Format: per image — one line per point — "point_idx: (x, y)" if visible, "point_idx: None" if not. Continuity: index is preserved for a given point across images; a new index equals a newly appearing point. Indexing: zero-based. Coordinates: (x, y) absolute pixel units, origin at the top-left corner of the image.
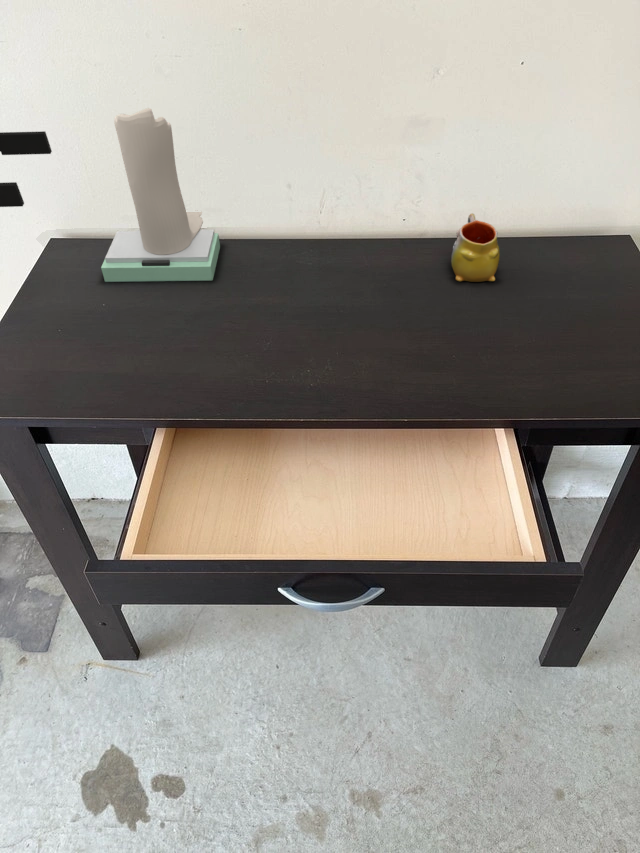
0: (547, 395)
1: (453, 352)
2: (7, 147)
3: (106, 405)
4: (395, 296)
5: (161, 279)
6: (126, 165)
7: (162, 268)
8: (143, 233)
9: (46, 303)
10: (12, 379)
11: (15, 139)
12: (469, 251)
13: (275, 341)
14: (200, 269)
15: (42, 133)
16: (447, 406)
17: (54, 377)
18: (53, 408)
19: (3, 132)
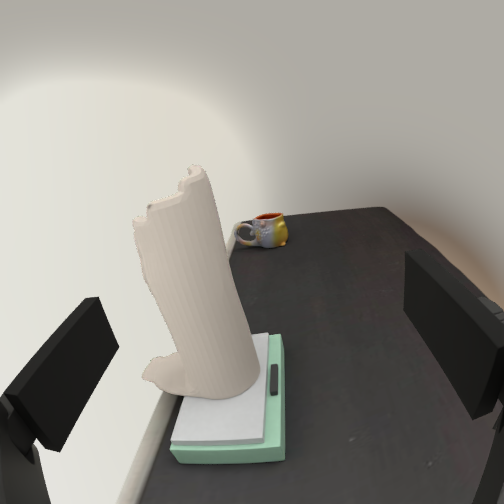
0: (381, 216)
1: (360, 235)
2: (57, 411)
3: None
4: (304, 258)
5: (284, 391)
6: (204, 267)
7: (281, 375)
8: (240, 366)
9: None
10: None
11: (61, 363)
12: (281, 222)
13: (379, 288)
14: (281, 344)
15: (93, 299)
16: (406, 230)
17: None
18: None
19: (18, 374)
